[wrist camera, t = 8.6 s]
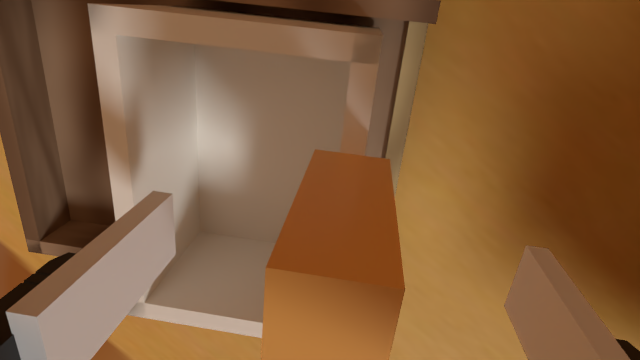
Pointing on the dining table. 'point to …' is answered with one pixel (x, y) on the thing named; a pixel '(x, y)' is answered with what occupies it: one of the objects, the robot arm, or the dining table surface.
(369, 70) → the box
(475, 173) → the dining table surface
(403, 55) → the bay
